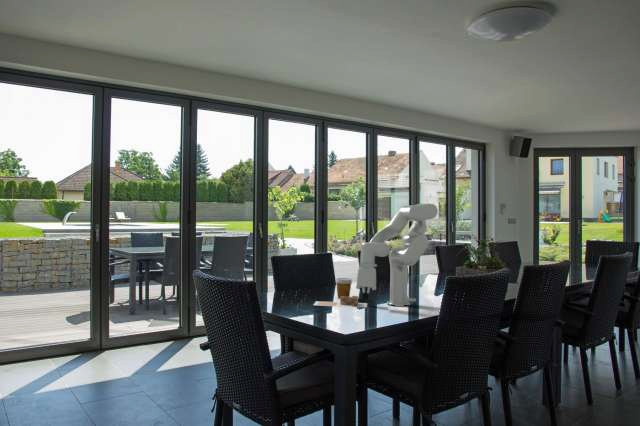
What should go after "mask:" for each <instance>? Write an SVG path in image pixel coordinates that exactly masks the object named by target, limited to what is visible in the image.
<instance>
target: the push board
mask: <svg viewBox="0 0 640 426" xmlns="http://www.w3.org/2000/svg"><path fill="white" fill-rule="evenodd" d="M313 306H318V307H319V306H321V307H322V306H323V307H341V308H342V307H344V308H345V307H348V308H367V307H368V303H367V302H366V303H365V302H364V303H362V302H358V305H357V307H356V306H351V305H340V302H339V301H317V300H315V302H314V303H313Z"/></svg>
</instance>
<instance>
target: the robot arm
mask: <svg viewBox="0 0 640 426" xmlns="http://www.w3.org/2000/svg"><path fill="white" fill-rule="evenodd" d="M438 212H439V210H438V207H437V206H436V205H435V204H434V203H417V204H415V205H414V204H413V205H412V204H411V205H402V206H400V207H399V208H398V210H397V211H396V213H395V214H394V215H393V217H392V218H391V220H390V221H389V222H388V224H387V225H386V226H384V227H382V229H380V230H378V231H377V232H376V233H375V234H374V235H373V237H372V238H371V240H370V241H369V242H367V241H365V242H362V243H361V245H360V262H359V264H360V265H359V267H358V270H357V276H356V287H355V289H357V290H360V291H361V292H362V299H363V301H365V302H366V301H368V300H369V294H370V292H372V291H376V290H377V270H376V268H375V267H378V264H377V263H375V259H376V257H381V258H382V257H388V259H389V266H390V267H389V268H390V273H389V274H390V278H389V280H390V282H389V300H387V301H386V303H387V305H388V304H389V305H388V306H391V305H395V306H394V307H405V306H404V305H409V306H410V305H411V303H416V302H417V298H413V297H409V296H408V287H409V286H408V285H409V283H408V282H409V277H408V276H409V270H408V267H411V266H414V265H415V264H416V263H418V261H419V260H420V258H421V257H422V256H423V254H424V252H425V251H426V249H427V247H428V245H429V239H428V237H427V235H425V233H426V232H427V227H428V225H427V221H426V220H428V221H429V220H432V219H435V218H436V217H437V215H438ZM409 222H412V224H411V226H410V227H409V229H408V230H407V231H406V233H405V234H404V235H403V237H402V239H401V241H400V243H401V245H402V247H401V246H395V247H393V248H392V249H391V247H390V245H389V244H387V243H386V242H387V241H388V240H390V239H393V238H395V237H397V236H399V235H401V234H402V233H403V231H404V230H405V228H406V226H407V225H408V224H409ZM366 288H367V289H366ZM366 290H367V291H366Z"/></svg>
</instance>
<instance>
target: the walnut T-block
mask: <svg viewBox="0 0 640 426" xmlns="http://www.w3.org/2000/svg"><path fill="white" fill-rule="evenodd" d="M339 300H340V305H351V306H356V307H355V308H358V307H357V305H358V303H359V296H358V295H352V296H349V297H345V296H341V297H340V299H339Z"/></svg>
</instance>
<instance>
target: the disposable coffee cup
mask: <svg viewBox="0 0 640 426" xmlns="http://www.w3.org/2000/svg"><path fill="white" fill-rule="evenodd" d="M335 283H336V292H337V293H336V294H337V299H339V300H340V297H341V296H345V297H351V296H350V294H351V290H352V289H351V287H352V283H353V281H352V278H349V277H339V278H336V280H335Z"/></svg>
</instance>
